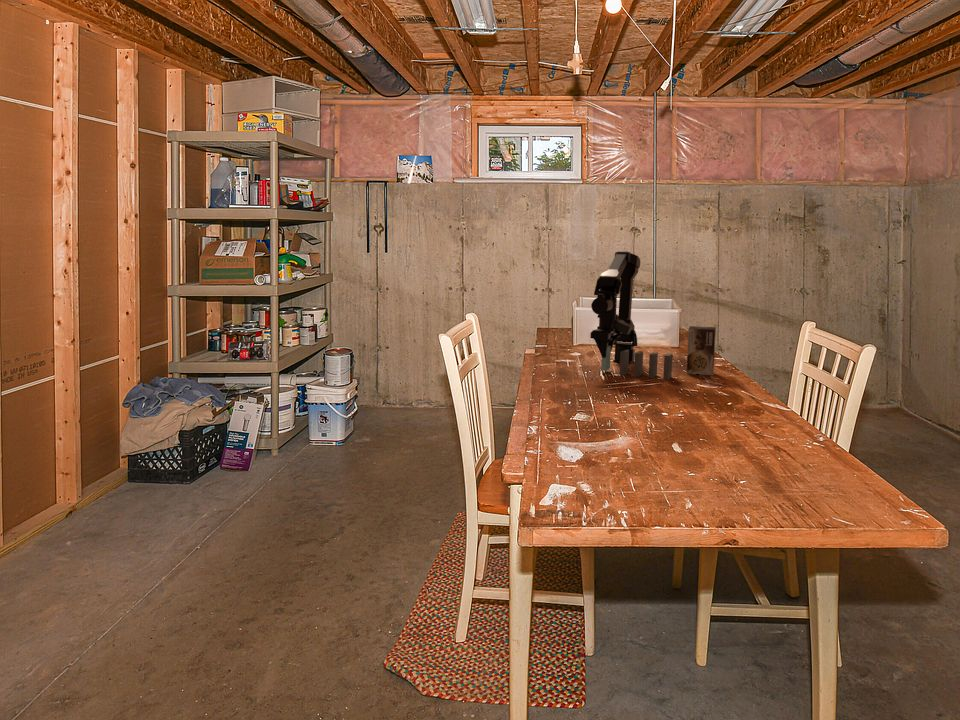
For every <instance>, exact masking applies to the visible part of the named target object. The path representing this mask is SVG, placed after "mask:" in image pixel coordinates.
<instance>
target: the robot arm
mask: <svg viewBox="0 0 960 720" xmlns="http://www.w3.org/2000/svg"><path fill="white" fill-rule="evenodd" d="M639 268H641V258H640V257H639V256H638V255H636V254H633V253H631V252H630V251H627V250H617V251H615V253H614V257H613V259H612V261H611V263H610V265H609V267H608V269H607V270H606V271H603V272H602V273H601V274H599V277H598V278H597V280H596V283H595V288H594V291H593V295H594V296H597V297H596V298H594V299H593V300H592V302H591V310H592V312H593V313H594V314H596V315H597V319H598V326H596V329H592V331H591V332H590V335H589V336H590V337H589V338H590V339H593V340H594V342H595V344H596V346H597V348H598V350H599V351H598V352H599V353H600V356H601V358H602V357H603V358H605V357H606V353H607V348H608V346H611V352H612V350H613V348H614V359H613V360H612V362H613V363H620V352H621V351H623V350H629V364H631V363H633V362H634V361H635V353H636V350H635V349H634V347H638V336H637V332H636V330H635V324H634V322H633V321H632V304H633V303H632V302H633V291H634V290H633V289H634V279H635V277H636V276H637V275H638V274H639ZM618 295H619V303H618V302H617V301H618V299H617V298H618ZM617 303H618V314H617Z"/></svg>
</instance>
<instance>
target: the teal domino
mask: <svg viewBox="0 0 960 720" xmlns="http://www.w3.org/2000/svg"><path fill="white" fill-rule="evenodd" d="M611 353H612V351H611V346H608V348H607V353H606V357H605V358H603V357H602V356H601V366H600V367H601V371H603V372H604V371H605V372H606V371H608V370H610V369H611V356H612V354H611Z"/></svg>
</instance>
